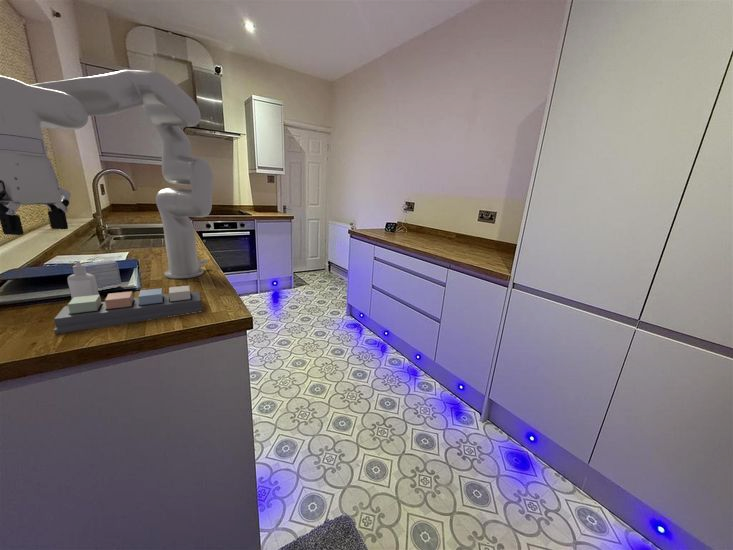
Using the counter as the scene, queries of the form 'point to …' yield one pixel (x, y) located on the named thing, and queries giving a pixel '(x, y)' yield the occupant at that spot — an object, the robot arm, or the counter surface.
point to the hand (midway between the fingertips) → (38, 231)
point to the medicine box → (104, 272)
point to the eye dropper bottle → (82, 282)
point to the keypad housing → (125, 313)
